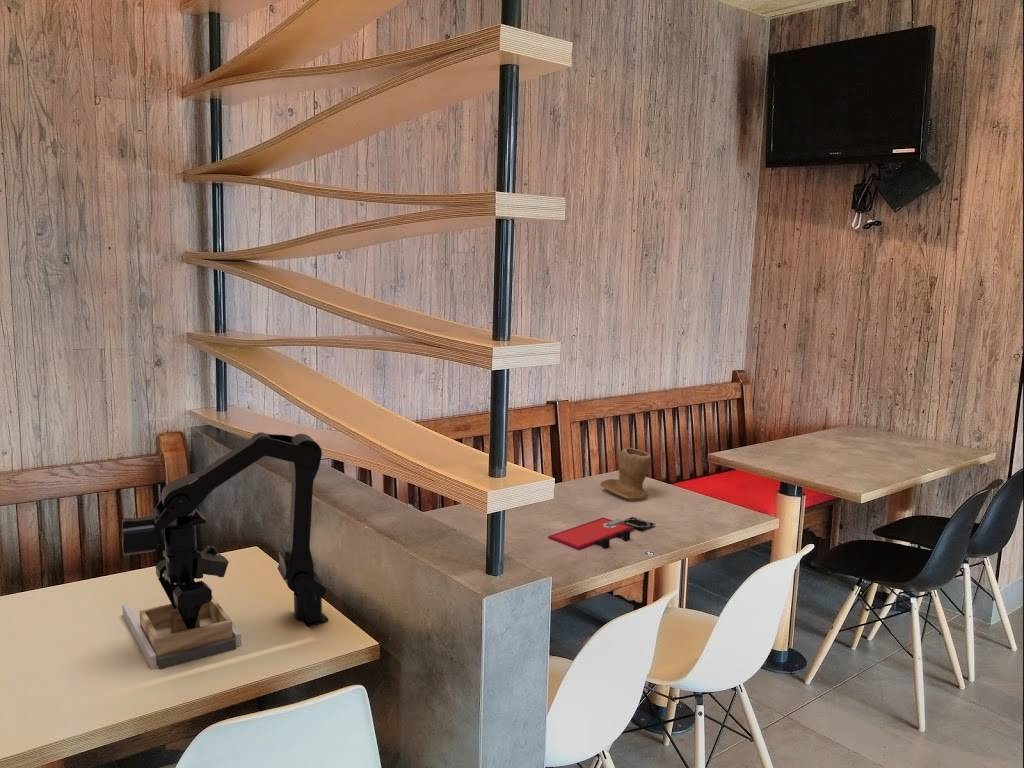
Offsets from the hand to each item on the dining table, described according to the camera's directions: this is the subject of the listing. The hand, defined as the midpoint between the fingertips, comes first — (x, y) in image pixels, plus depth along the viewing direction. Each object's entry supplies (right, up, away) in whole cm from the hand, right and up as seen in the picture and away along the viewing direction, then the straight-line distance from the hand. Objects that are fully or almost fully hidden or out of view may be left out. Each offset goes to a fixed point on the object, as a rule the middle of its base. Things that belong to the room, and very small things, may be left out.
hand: (185, 621), depth 165 cm
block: (0, -3, +1) cm, 3 cm away
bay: (-3, -4, +4) cm, 6 cm away
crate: (0, -4, 0) cm, 4 cm away
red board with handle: (+90, +5, +66) cm, 112 cm away
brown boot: (+101, +11, +101) cm, 143 cm away
